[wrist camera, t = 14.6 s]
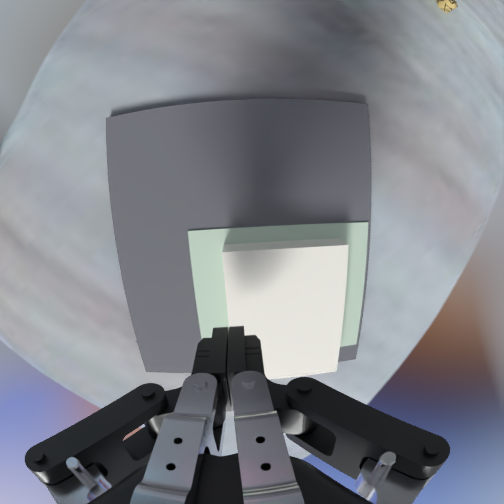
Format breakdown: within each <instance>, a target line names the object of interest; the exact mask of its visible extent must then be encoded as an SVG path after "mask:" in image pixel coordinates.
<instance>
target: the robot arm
mask: <svg viewBox="0 0 504 504" xmlns="http://www.w3.org/2000/svg"><path fill="white" fill-rule="evenodd" d="M231 404H232V408H233V411H234V422H235V431H236V440H237V449H238V453H237V454H232V455H228V456H221V455H222V447H223V440H224V432H225V415H226V411H231ZM142 424H145V427H143V428H142V429H140V430H139V431H137V432H136V433H135V434H133V435H132V436H130V437H129V438H127V439H126V440H124V441H123V439H124V437H125V436H126V435H127V434H129V433H130V432H132V431H133V430H135V429H136V428H138V427H139V426H141V425H142ZM283 433H286V436H287V437H288V438H289V439H290V440H292V441H293V442H295V443H296V444H298V445H299V446H301V447H302V448H304V449H305V450H307V451H308V452H310V453H311V454H313V455H315V456H316V457H318V458H319V459H321V460H322V461H324V462H326V463H328V464H329V465H331V466H333V467H334V468H336V469H338V470H339V471H341V472H343V473H344V474H346V475H348V476H350V477H352V478H353V479H355V480H356V482H355V487H356V490H357V492H358V493H359V494H360V495H362V496H363V497H364V498H363V497H361V496H360V495H358V494H356V493H354V492H353V491H351V490H349V489H348V488H346V487H344V486H343V485H341V484H340V483H338V482H337V481H335V480H333V479H332V478H330V477H329V476H327V475H326V474H324V473H323V472H321V471H320V470H318V469H317V468H315V467H314V466H313V465H311V464H309V463H308V462H306V461H304V460H301V459H299V458H295V457H292V456H289V454H288V450H287V446H286V443H285V439H284V435H283ZM449 453H450V447H449V444H448V442H447V441H446V440H445V439H444V438H443V437H441V436H439V435H436V434H433V433H431V432H428V431H426V430H423V429H421V428H418V427H416V426H413V425H411V424H408V423H406V422H404V421H401V420H399V419H397V418H394V417H392V416H390V415H388V414H385V413H383V412H381V411H379V410H376V409H374V408H372V407H370V406H368V405H366V404H364V403H361V402H359V401H357V400H355V399H353V398H351V397H349V396H347V395H345V394H343V393H341V392H339V391H337V390H335V389H333V388H331V387H329V386H327V385H325V384H323V383H321V382H319V381H317V380H315V379H313V378H309V377H300V378H296V379H293V380H292V381H290V382H289V383H288V384H287V385H281V384H276V383H273V382H271V381H270V380H268V379H267V377H266V376H265V373H264V365H263V357H262V349H261V341H260V339H259V338H258V337H257V336H256V335H246V336H245V332H244V326H231V327H229V329H228V327H215V328H213V331H212V338H203V339H202V340H201V341H200V342H199V343H198V345H197V350H196V354H195V359H194V364H193V369H192V374H191V376H189V377H187V378H186V379H185V381H184V383H183V386H182V387H180V388H177V389H173V390H169V391H164V389H163V387H162V386H160V385H158V384H154V383H148V384H143V385H141V386H139V387H137V388H136V389H134V390H132V391H131V392H129V393H127V394H126V395H124V396H122V397H121V398H119V399H117V400H116V401H114V402H112V403H111V404H109V405H107V406H106V407H104V408H102V409H100V410H99V411H97V412H95V413H93V414H92V415H90V416H88V417H87V418H85V419H83V420H81V421H79V422H78V423H76V424H74V425H72V426H71V427H69V428H67V429H65V430H63V431H61V432H59V433H58V434H56V435H54V436H52V437H50V438H48V439H46V440H44V441H43V442H40V443H39V444H37V445H35V446H33V447H31V448H30V449H29V450H28V451H27V453H26V455H25V463H26V465H27V467H28V468H29V469H30V470H31V471H32V472H33V473H34V474H35V475H36V476H37V477H38V479H39V480H40V481H41V482H42V483H43V484H44V485H45V486H46V487H47V488H48V490H49V491H50V493H51V495H52V496H53V498H54V500H55V501H56V503H57V504H412V503H413V502H414V500H415V499H416V497H417V496H418V494H419V493H420V491H421V490H422V489H423V488H424V487H425V486H426V484H427V483H428V482H429V481H430V480H431V479H432V477H433V476H434V475H435V474H436V472H437V471H438V470H439V469H440V467H441V466H442V465H443V463H444V462H445V461H446V459H447V458H448V456H449Z"/></svg>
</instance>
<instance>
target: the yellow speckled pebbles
mask: <svg viewBox="0 0 504 504" xmlns="http://www.w3.org/2000/svg"><path fill="white" fill-rule="evenodd" d="M437 4H438V6H439V7H440V8H441V9H442V10H443V11H445V12H447V13H448V12H450V11H451V10H453V9H455V8H456V7H457V3H456V1H455V0H437Z"/></svg>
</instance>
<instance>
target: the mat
mask: <svg viewBox="0 0 504 504" xmlns="http://www.w3.org/2000/svg"><path fill="white" fill-rule="evenodd" d="M106 144H107V165H108V179H109V191H110V201H111V210H112V218H113V226H114V233H115V240H116V246H117V252H118V258H119V264H120V269H121V274H122V280H123V284H124V289H125V294H126V298H127V303H128V307H129V312H130V316H131V320H132V324H133V328H134V331H135V335H136V339H137V342H138V346H139V350H140V353H141V356H142V360H143V363H144V366H145V369H146V372H166V373H192V369H193V364H194V359H195V354H196V350H197V345H198V343H199V342H200V341H201V340H202V339H203V338H212V331H213V328H215V327H228V329H229V323H228V313H227V303H226V292H225V281H224V269H223V257H222V250H223V245H225V244H242V243H259V242H277V241H295V240H314V239H333V238H340V239H341V240H343V241H344V242H345V243H347V244H348V245H349V246H348V266H347V281H346V294H345V305H344V316H343V325H342V334H341V342H340V350H339V357H338V362H340V361H347V360H353V359H356V354H357V348H358V342H359V336H360V329H361V323H362V315H363V307H364V299H365V290H366V281H367V270H368V257H369V242H370V220H371V152H370V131H369V116H368V104H363V103H354V102H343V101H331V100H314V99H239V100H222V101H209V102H199V103H190V104H181V105H174V106H167V107H160V108H154V109H148V110H142V111H137V112H131V113H126V114H122V115H117V116H112V117H108V118H106Z"/></svg>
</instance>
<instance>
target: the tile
mask: <svg viewBox="0 0 504 504" xmlns="http://www.w3.org/2000/svg"><path fill="white" fill-rule="evenodd" d="M348 246H349V245H348V244H347V243H345V242H344V241H343V240H341V239H340V238H333V239H314V240H295V241H277V242H259V243H242V244H225V245H223V250H222V257H223V269H224V281H225V292H226V303H227V313H228V323H229V327H231V326H244V332H245V336H246V335H256V336H257V337H258V338H259V339H260V341H261V349H262V357H263V365H264V373H265V376H266V377H267V379H278V378H288V377H298V376H306V375H314V374H321V373H328V372H335V371H337V364H338V357H339V350H340V342H341V334H342V325H343V316H344V305H345V294H346V281H347V266H348Z"/></svg>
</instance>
